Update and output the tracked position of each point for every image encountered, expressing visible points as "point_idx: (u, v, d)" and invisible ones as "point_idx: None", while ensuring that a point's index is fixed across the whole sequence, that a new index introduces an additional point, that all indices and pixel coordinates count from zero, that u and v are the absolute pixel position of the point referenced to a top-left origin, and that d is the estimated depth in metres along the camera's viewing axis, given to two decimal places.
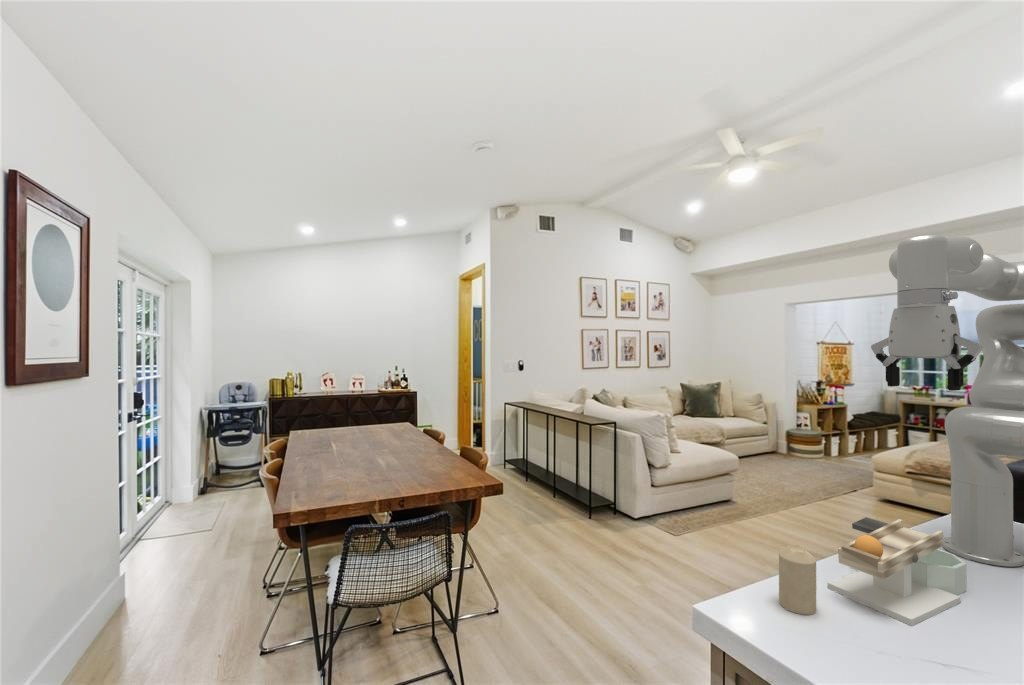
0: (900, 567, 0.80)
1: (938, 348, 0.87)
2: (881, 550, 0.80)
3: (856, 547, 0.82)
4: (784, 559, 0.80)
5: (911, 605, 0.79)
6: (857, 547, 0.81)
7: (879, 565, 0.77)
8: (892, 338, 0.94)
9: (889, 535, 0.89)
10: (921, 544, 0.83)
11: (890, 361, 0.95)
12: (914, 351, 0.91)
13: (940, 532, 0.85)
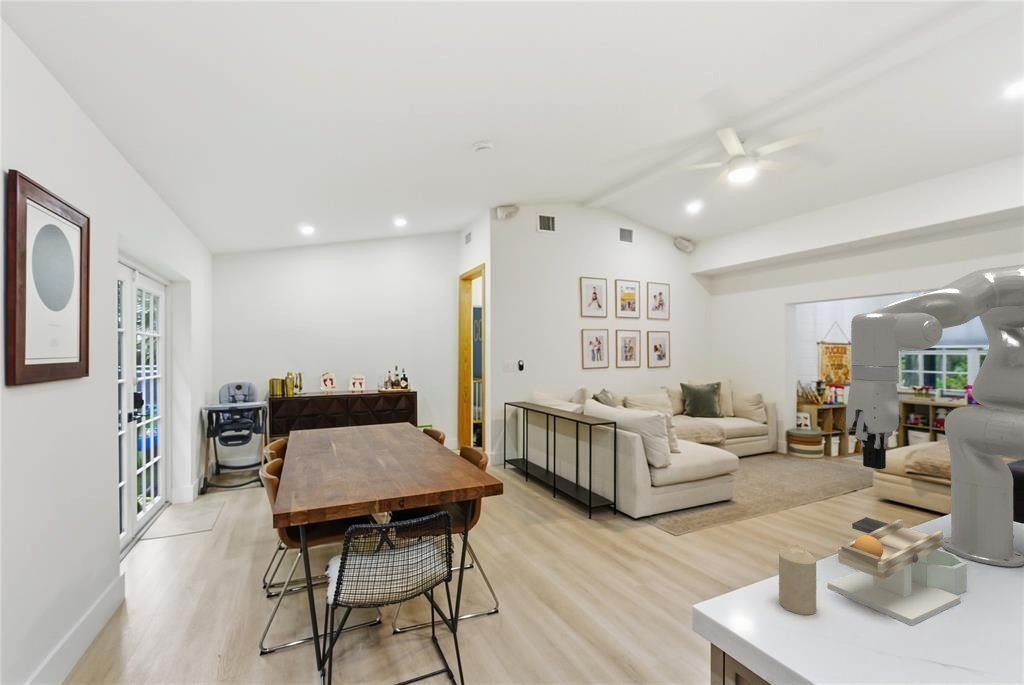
0: (900, 567, 0.80)
1: (896, 422, 0.93)
2: (881, 550, 0.80)
3: (856, 547, 0.82)
4: (784, 559, 0.80)
5: (911, 605, 0.79)
6: (857, 547, 0.81)
7: (879, 565, 0.77)
8: (875, 414, 0.90)
9: (889, 535, 0.89)
10: (921, 544, 0.83)
11: (879, 441, 0.92)
12: (884, 426, 0.91)
13: (940, 532, 0.85)
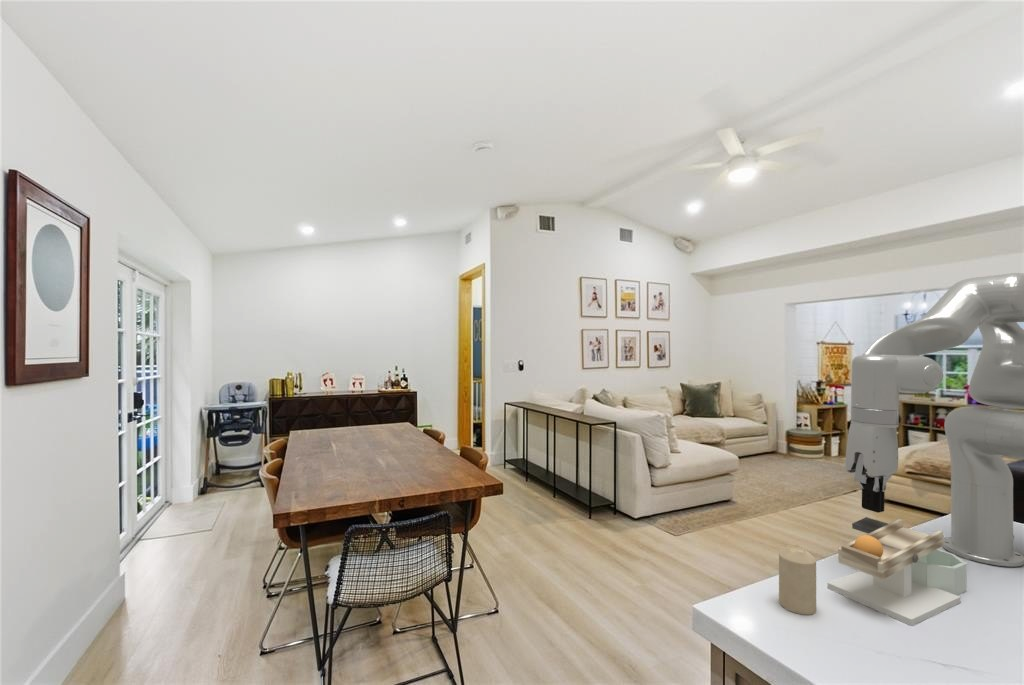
0: (900, 567, 0.80)
1: (895, 465, 0.93)
2: (881, 550, 0.80)
3: (856, 547, 0.82)
4: (784, 559, 0.80)
5: (911, 605, 0.79)
6: (857, 547, 0.81)
7: (879, 565, 0.77)
8: (874, 458, 0.90)
9: (889, 535, 0.89)
10: (921, 544, 0.83)
11: (878, 484, 0.91)
12: (883, 470, 0.91)
13: (940, 532, 0.85)
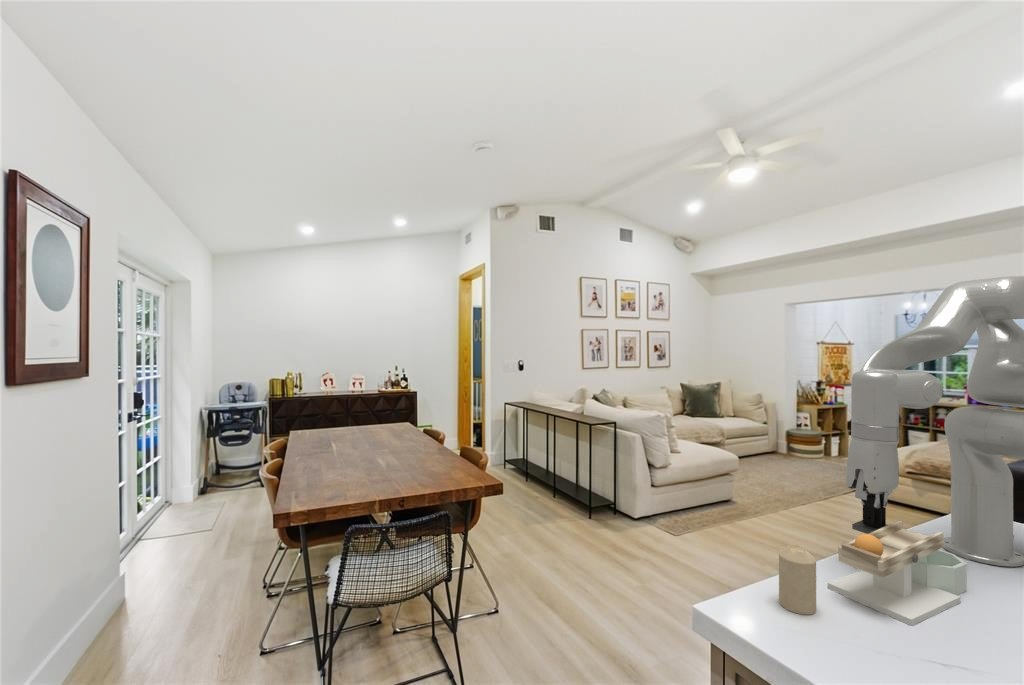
0: (900, 566, 0.80)
1: (896, 481, 0.93)
2: (881, 549, 0.80)
3: (856, 546, 0.82)
4: (784, 559, 0.80)
5: (911, 605, 0.79)
6: (857, 546, 0.81)
7: (879, 563, 0.77)
8: (875, 475, 0.90)
9: (889, 536, 0.89)
10: (922, 545, 0.83)
11: (878, 500, 0.91)
12: (884, 486, 0.91)
13: (940, 533, 0.85)
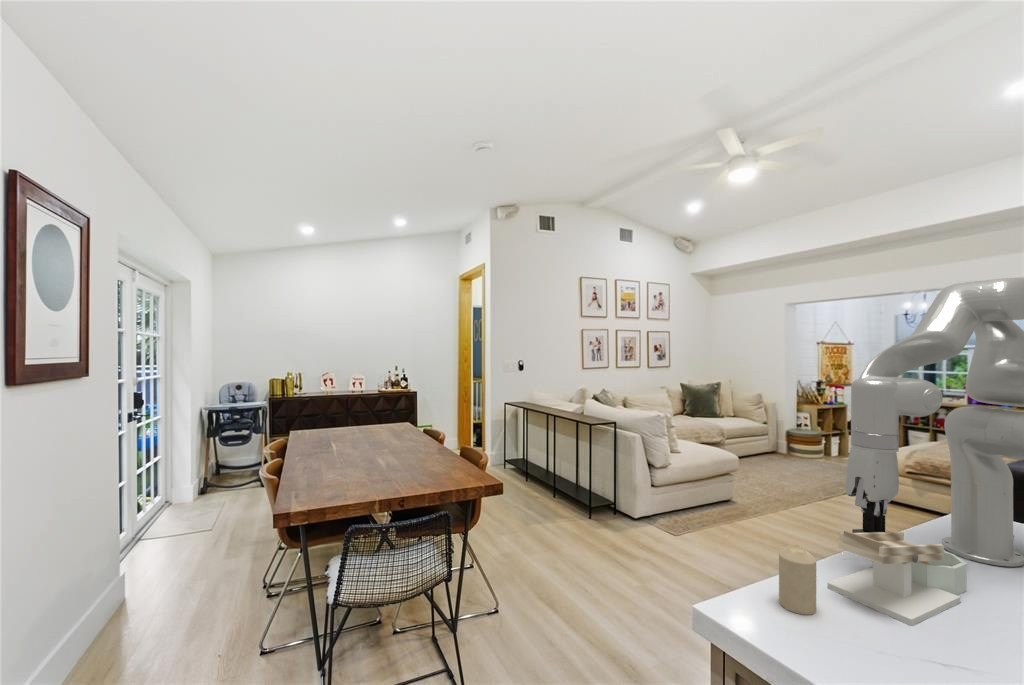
0: (900, 560, 0.80)
1: (896, 489, 0.93)
2: None
3: None
4: (784, 559, 0.80)
5: (911, 605, 0.79)
6: None
7: (881, 549, 0.78)
8: (874, 483, 0.89)
9: (889, 541, 0.89)
10: (923, 548, 0.83)
11: (878, 508, 0.91)
12: (884, 494, 0.91)
13: (941, 545, 0.86)
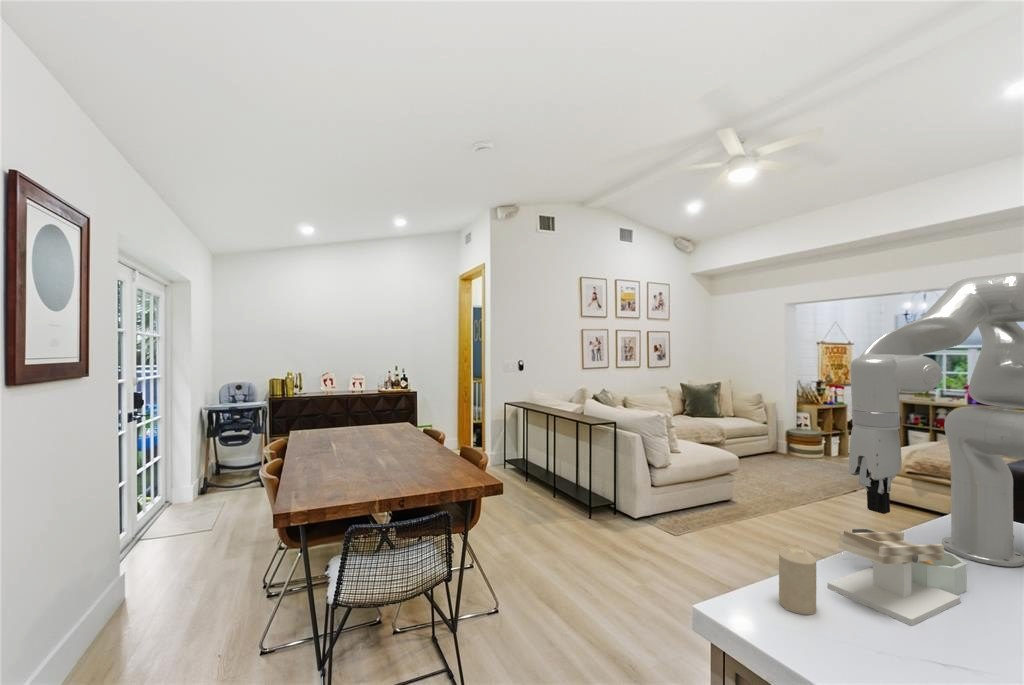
0: (900, 560, 0.80)
1: (899, 466, 0.93)
2: None
3: None
4: (784, 559, 0.80)
5: (911, 605, 0.79)
6: None
7: (881, 549, 0.78)
8: (877, 461, 0.90)
9: (889, 541, 0.89)
10: (923, 548, 0.83)
11: (882, 486, 0.92)
12: (887, 471, 0.91)
13: (941, 545, 0.86)
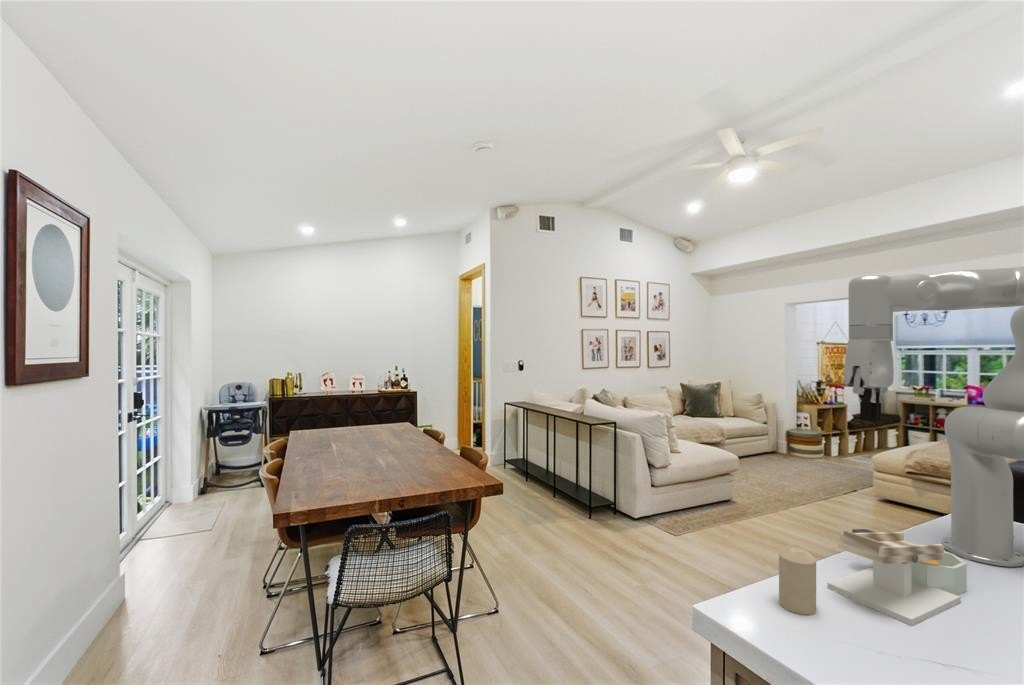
0: (900, 560, 0.80)
1: (891, 378, 0.99)
2: None
3: None
4: (784, 559, 0.80)
5: (911, 605, 0.79)
6: None
7: (881, 549, 0.78)
8: (871, 370, 0.96)
9: (889, 541, 0.89)
10: (923, 548, 0.83)
11: (875, 395, 0.98)
12: (880, 382, 0.97)
13: (941, 545, 0.86)
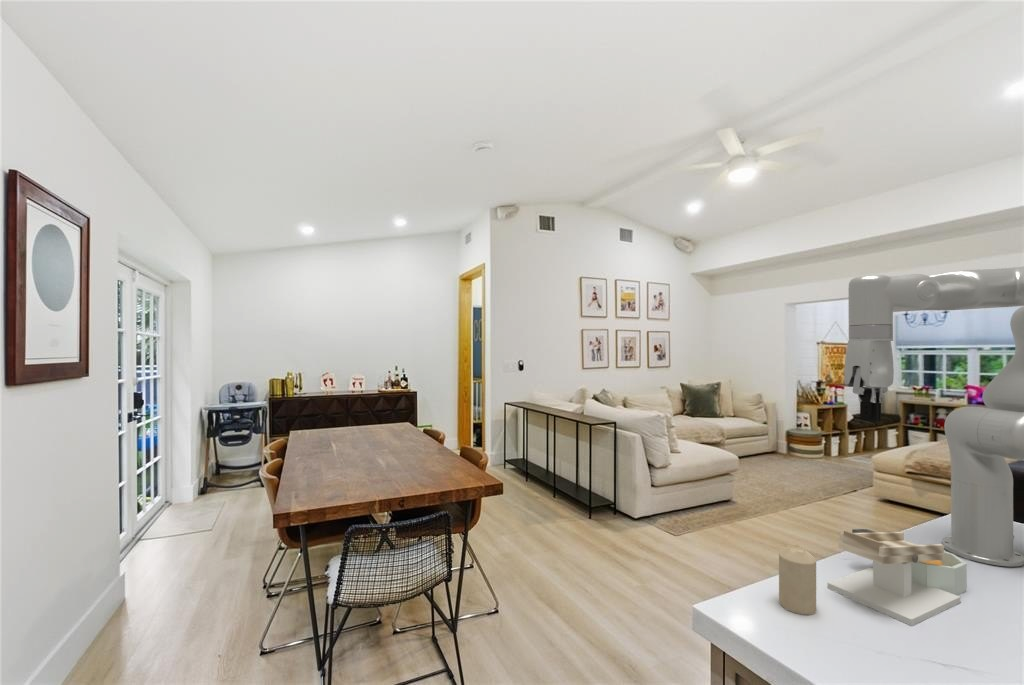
0: (900, 560, 0.80)
1: (891, 378, 0.99)
2: None
3: None
4: (784, 559, 0.80)
5: (911, 605, 0.79)
6: None
7: (881, 549, 0.78)
8: (871, 370, 0.96)
9: (889, 541, 0.89)
10: (923, 548, 0.83)
11: (875, 395, 0.98)
12: (880, 381, 0.97)
13: (941, 545, 0.86)
